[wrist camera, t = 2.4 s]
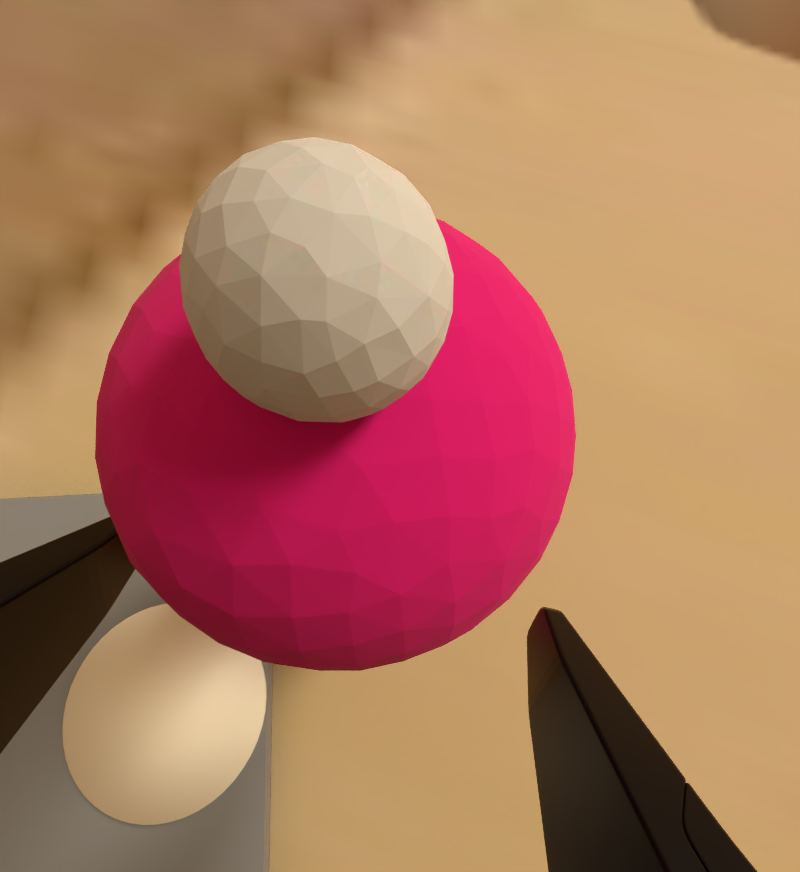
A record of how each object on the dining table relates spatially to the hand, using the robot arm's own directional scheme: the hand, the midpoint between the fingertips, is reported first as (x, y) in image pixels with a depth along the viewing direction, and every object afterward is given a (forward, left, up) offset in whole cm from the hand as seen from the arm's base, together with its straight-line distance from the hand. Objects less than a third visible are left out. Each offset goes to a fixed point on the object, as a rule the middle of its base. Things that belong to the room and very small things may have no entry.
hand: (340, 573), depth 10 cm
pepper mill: (+1, +2, -12) cm, 12 cm away
